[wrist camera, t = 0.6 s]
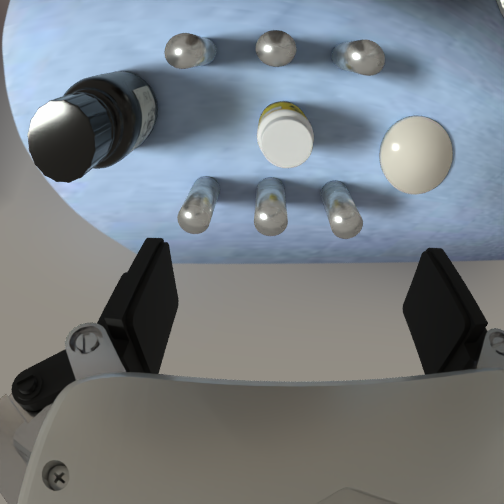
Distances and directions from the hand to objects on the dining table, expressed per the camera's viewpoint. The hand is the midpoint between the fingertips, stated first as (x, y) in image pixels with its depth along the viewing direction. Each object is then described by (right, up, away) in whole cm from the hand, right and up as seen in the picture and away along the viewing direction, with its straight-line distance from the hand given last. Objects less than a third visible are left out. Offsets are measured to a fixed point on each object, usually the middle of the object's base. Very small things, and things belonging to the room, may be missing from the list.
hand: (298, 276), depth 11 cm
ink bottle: (-16, +16, +19) cm, 29 cm away
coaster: (+16, +12, +20) cm, 28 cm away
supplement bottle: (+1, +14, +19) cm, 24 cm away
